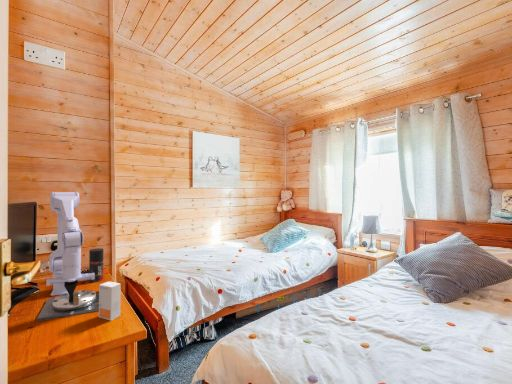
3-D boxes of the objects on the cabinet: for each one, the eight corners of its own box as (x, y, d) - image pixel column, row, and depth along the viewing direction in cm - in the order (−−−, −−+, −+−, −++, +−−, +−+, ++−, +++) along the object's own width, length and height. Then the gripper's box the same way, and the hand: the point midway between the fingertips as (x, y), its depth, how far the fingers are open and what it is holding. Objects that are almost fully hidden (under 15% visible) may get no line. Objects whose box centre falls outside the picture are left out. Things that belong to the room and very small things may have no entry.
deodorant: (96, 282, 129) (97, 251, 129) (86, 281, 130) (86, 250, 130) (106, 278, 135) (106, 248, 135) (95, 277, 136) (96, 248, 136)
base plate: (47, 301, 108) (47, 298, 108) (104, 292, 118) (104, 290, 118) (36, 323, 92) (36, 319, 92) (103, 311, 101) (103, 308, 101)
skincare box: (98, 318, 96) (98, 284, 96) (108, 312, 100) (108, 280, 100) (111, 321, 94) (111, 287, 93) (121, 315, 98) (121, 283, 97)
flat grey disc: (52, 300, 107) (52, 286, 107) (94, 292, 115) (94, 279, 115) (51, 315, 94) (51, 300, 94) (98, 306, 102) (98, 291, 102)
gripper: (45, 270, 92) (45, 310, 92) (95, 264, 99) (94, 301, 100) (47, 265, 98) (47, 302, 98) (94, 260, 105) (94, 294, 106)
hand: (71, 301), depth 99 cm, fingers closed, pressing on flat grey disc
